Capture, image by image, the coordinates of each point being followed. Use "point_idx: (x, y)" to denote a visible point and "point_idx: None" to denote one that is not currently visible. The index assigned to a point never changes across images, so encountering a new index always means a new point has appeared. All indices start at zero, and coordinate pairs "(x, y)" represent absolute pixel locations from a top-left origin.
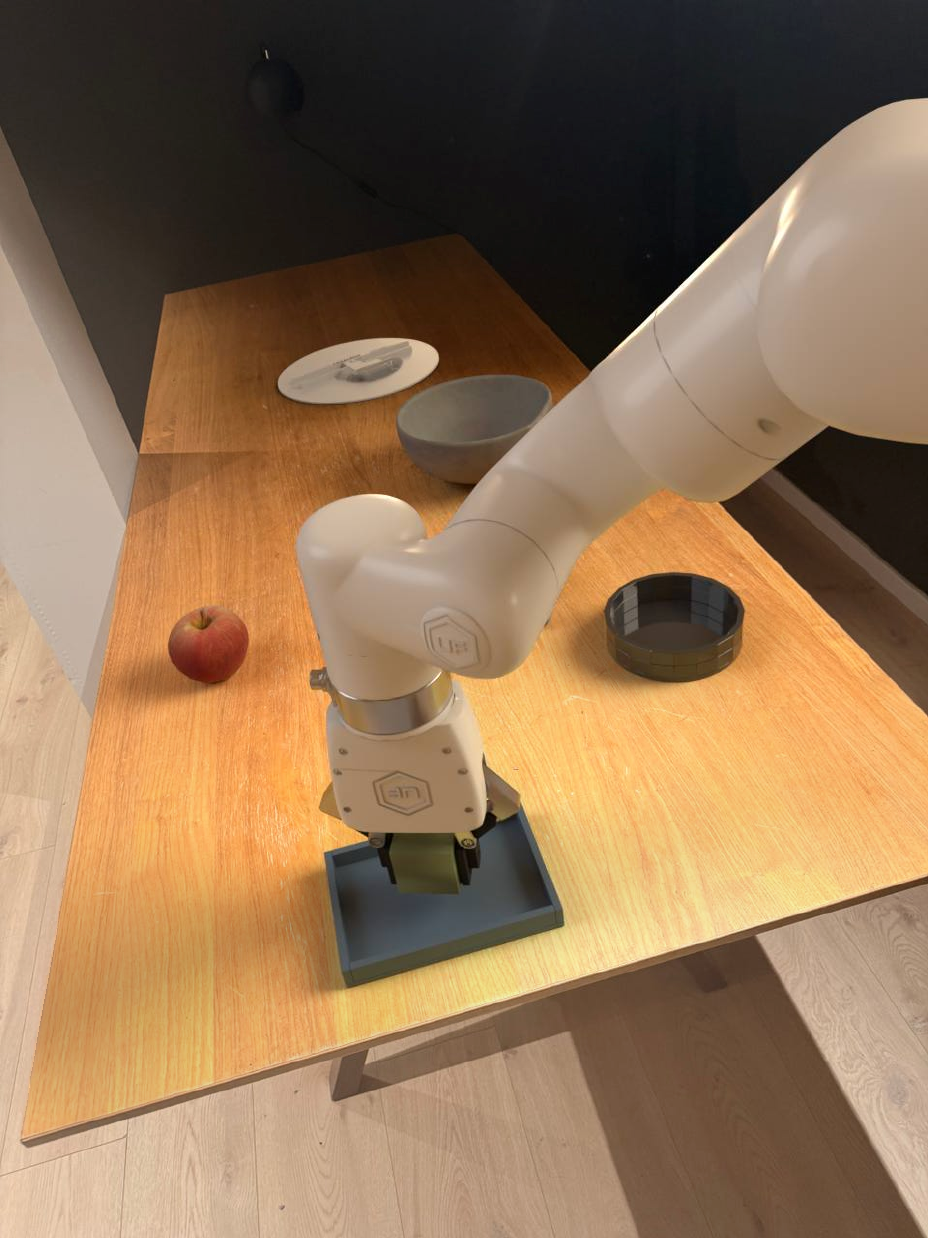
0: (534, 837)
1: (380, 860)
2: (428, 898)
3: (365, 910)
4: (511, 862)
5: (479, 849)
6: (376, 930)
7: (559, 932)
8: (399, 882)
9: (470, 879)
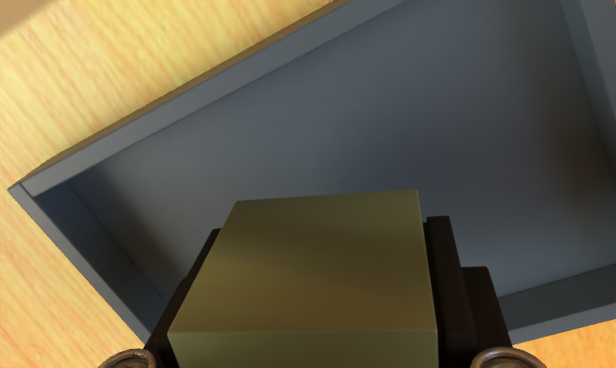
0: None
1: (492, 289)
2: None
3: (528, 146)
4: None
5: None
6: (484, 90)
7: (50, 144)
8: (410, 218)
9: None
